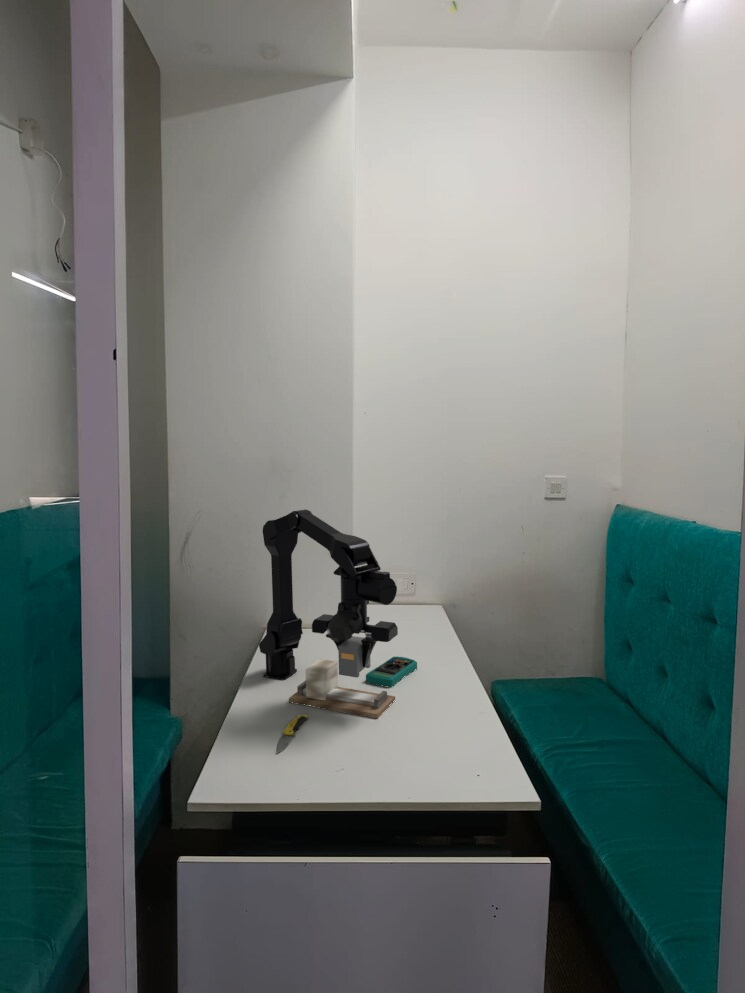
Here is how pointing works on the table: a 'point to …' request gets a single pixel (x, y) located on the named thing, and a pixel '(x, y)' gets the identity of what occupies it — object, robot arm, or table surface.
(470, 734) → the table surface
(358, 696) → the din panel
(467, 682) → the table surface
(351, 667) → the block
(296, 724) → the utility knife
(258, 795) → the table surface
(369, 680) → the digital multimeter
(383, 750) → the table surface
